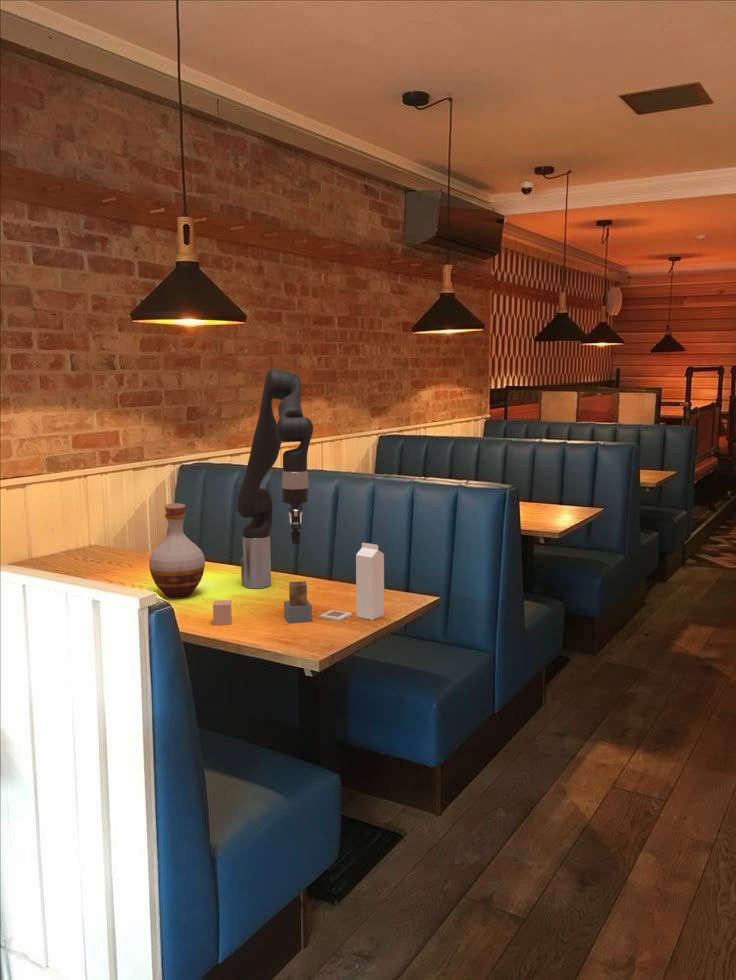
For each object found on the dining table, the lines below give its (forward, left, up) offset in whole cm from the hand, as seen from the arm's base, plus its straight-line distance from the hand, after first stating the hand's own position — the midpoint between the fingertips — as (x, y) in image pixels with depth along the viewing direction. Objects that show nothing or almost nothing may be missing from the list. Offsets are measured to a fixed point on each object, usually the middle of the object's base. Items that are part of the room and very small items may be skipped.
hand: (295, 540), depth 244 cm
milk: (+19, +11, -23) cm, 32 cm away
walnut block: (+2, -2, -18) cm, 18 cm away
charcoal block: (+2, -2, -23) cm, 23 cm away
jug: (-49, +2, -23) cm, 55 cm away
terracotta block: (-16, -15, -23) cm, 32 cm away
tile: (+10, +6, -23) cm, 26 cm away
